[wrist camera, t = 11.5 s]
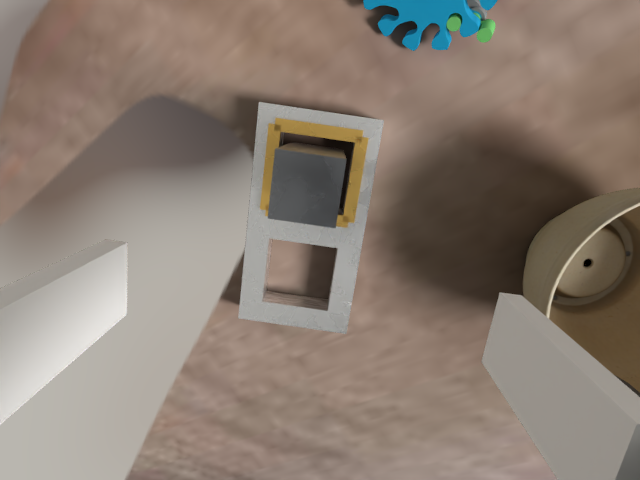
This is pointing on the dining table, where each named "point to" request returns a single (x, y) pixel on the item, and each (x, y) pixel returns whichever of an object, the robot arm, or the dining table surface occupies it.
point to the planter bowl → (592, 278)
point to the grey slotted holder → (343, 237)
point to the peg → (307, 184)
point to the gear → (437, 19)
